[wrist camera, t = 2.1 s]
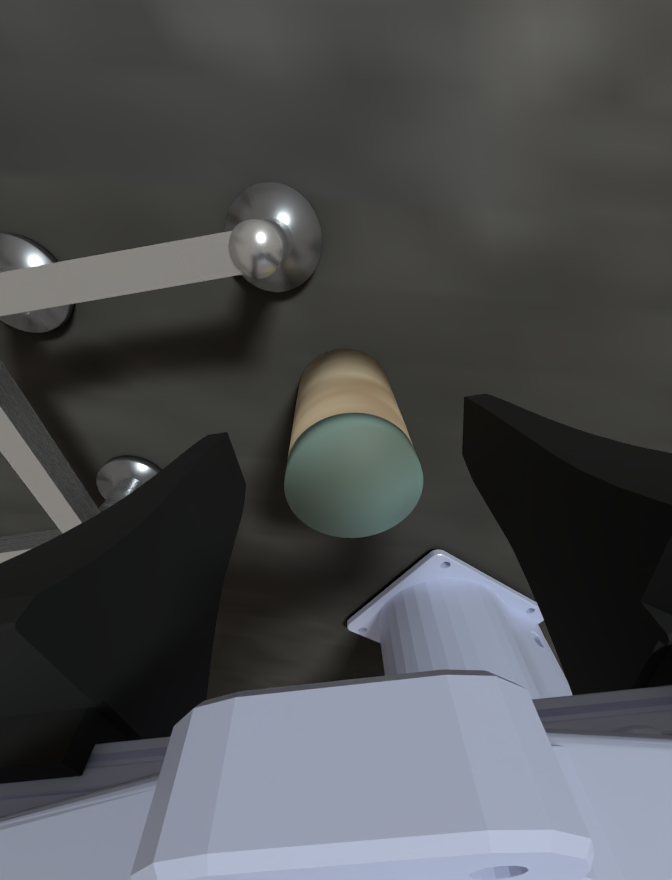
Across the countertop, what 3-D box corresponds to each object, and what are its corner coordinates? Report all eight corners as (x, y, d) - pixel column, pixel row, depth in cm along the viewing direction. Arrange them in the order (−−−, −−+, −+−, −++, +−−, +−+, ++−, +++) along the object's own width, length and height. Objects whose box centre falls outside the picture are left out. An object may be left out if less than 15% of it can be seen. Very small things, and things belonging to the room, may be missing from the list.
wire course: (340, 228, 12) (347, 234, 8) (112, 584, 20) (69, 659, 17) (36, -31, 9) (-149, -188, 5) (-81, 513, 17) (-180, 587, 14)
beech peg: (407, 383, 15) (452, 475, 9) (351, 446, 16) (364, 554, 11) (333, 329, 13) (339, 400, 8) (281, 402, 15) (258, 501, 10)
